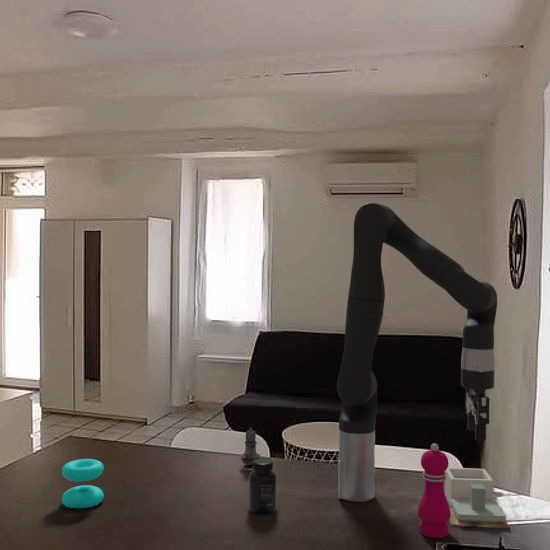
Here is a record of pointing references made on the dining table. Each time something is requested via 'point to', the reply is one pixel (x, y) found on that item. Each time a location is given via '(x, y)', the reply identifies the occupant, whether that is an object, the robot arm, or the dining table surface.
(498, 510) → the lid
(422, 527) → the pepper mill
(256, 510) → the supplement bottle
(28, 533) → the dining table surface
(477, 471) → the storage box
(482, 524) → the cork mat
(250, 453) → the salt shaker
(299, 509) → the dining table surface
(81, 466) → the donuts
